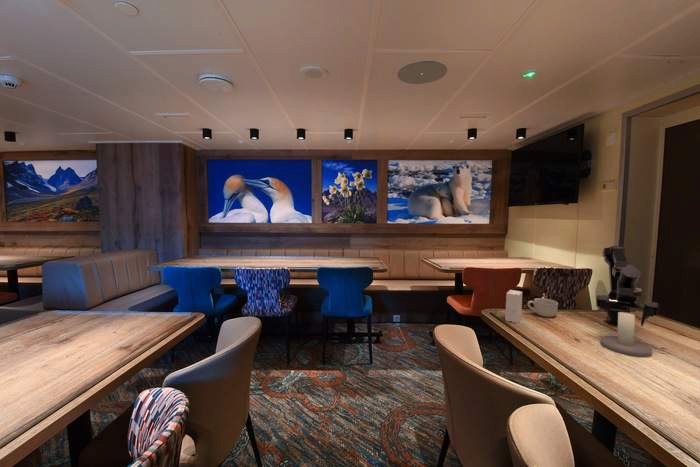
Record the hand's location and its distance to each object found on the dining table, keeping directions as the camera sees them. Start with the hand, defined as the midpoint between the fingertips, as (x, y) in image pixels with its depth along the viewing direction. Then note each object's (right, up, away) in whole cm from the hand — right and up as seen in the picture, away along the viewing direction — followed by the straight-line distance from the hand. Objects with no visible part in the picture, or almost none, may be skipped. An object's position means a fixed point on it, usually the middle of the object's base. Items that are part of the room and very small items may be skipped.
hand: (625, 322), depth 116 cm
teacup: (-8, -8, +38) cm, 40 cm away
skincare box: (-28, -9, +31) cm, 43 cm away
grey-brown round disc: (-1, -10, -1) cm, 10 cm away
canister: (-1, -8, -1) cm, 8 cm away
